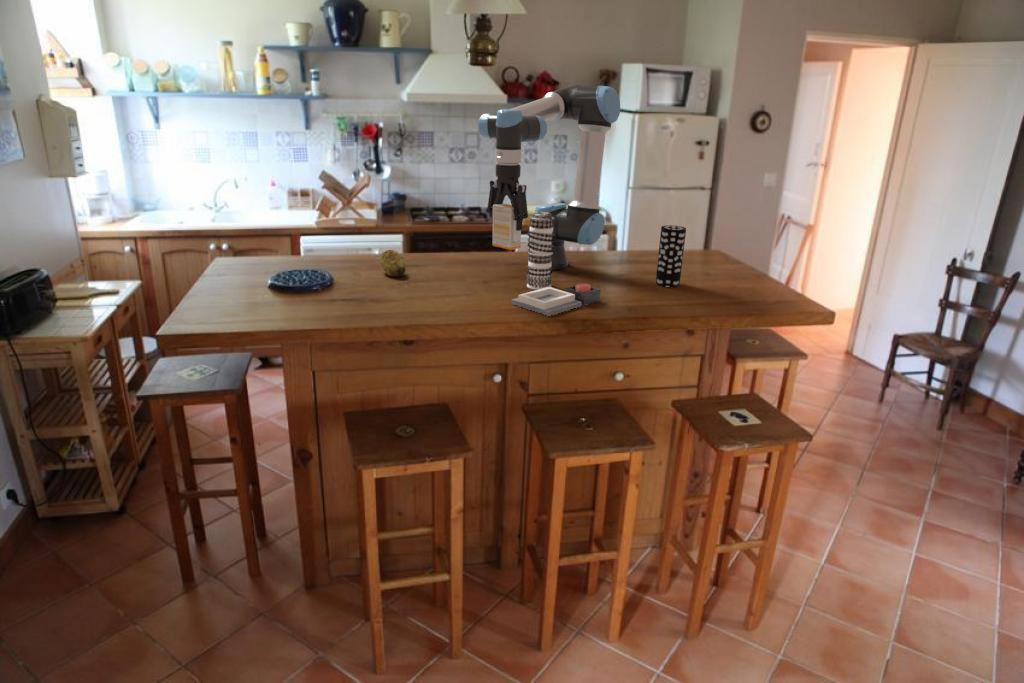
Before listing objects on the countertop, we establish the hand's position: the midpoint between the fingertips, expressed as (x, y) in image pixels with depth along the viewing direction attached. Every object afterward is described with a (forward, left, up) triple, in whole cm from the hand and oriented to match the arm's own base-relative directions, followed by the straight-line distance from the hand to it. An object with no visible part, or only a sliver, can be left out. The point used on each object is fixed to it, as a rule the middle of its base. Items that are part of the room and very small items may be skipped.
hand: (506, 238), depth 211 cm
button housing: (+19, +16, -19) cm, 31 cm away
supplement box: (0, 0, -3) cm, 3 cm away
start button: (+19, +16, -18) cm, 30 cm away
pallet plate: (+15, +3, -19) cm, 25 cm away
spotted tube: (+26, +54, -19) cm, 63 cm away
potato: (-45, -12, -19) cm, 50 cm away
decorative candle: (-1, +17, -19) cm, 26 cm away
